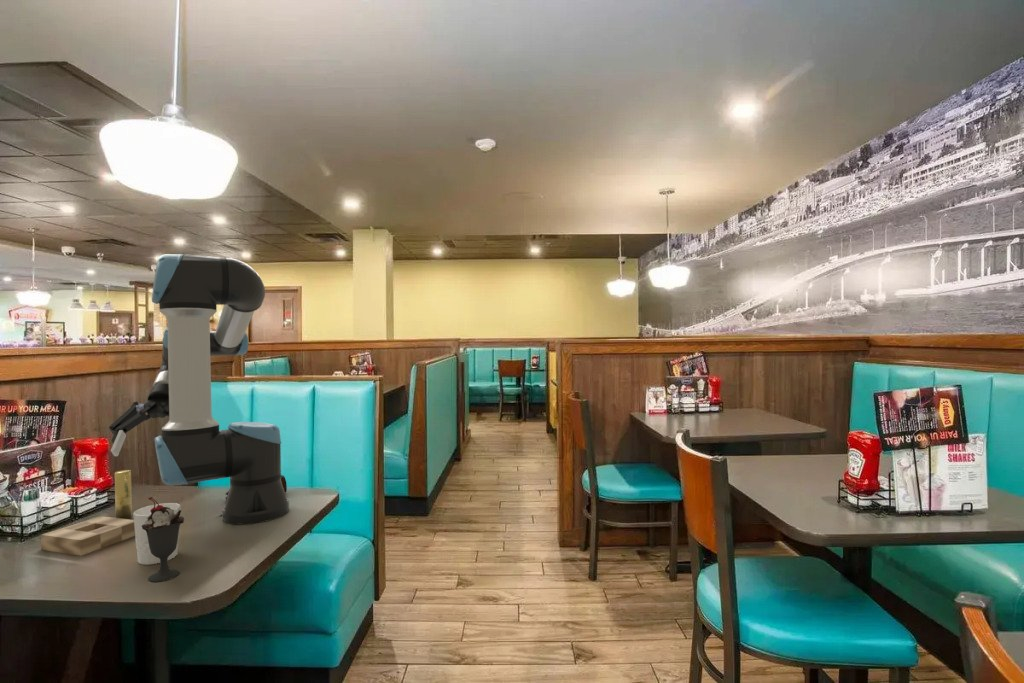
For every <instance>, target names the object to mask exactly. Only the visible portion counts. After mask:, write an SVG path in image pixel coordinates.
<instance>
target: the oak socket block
mask: <svg viewBox="0 0 1024 683" xmlns="http://www.w3.org/2000/svg"><path fill="white" fill-rule="evenodd" d="M133 537H135V529H134V520H129V519H120V518H113V517H111V516H96V517H94V518H90V519H87V520H84V521H81V522H77V523H74V524H71V525H68V526H64V527H62V528H58V529H55V530H52V531H49V532H46V533H42V534H40V550H42V551H48V552H54V553H62V554H69V555H74V556H83V555H88V554H90V553H92V552H95V551H97V550H98V551H99V550H100V549H103V548H106V547H108V546H111V545H113V544H114V545H115V544H117V543H120V542H123V541H125V540H127V539H131V538H133Z"/></svg>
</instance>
